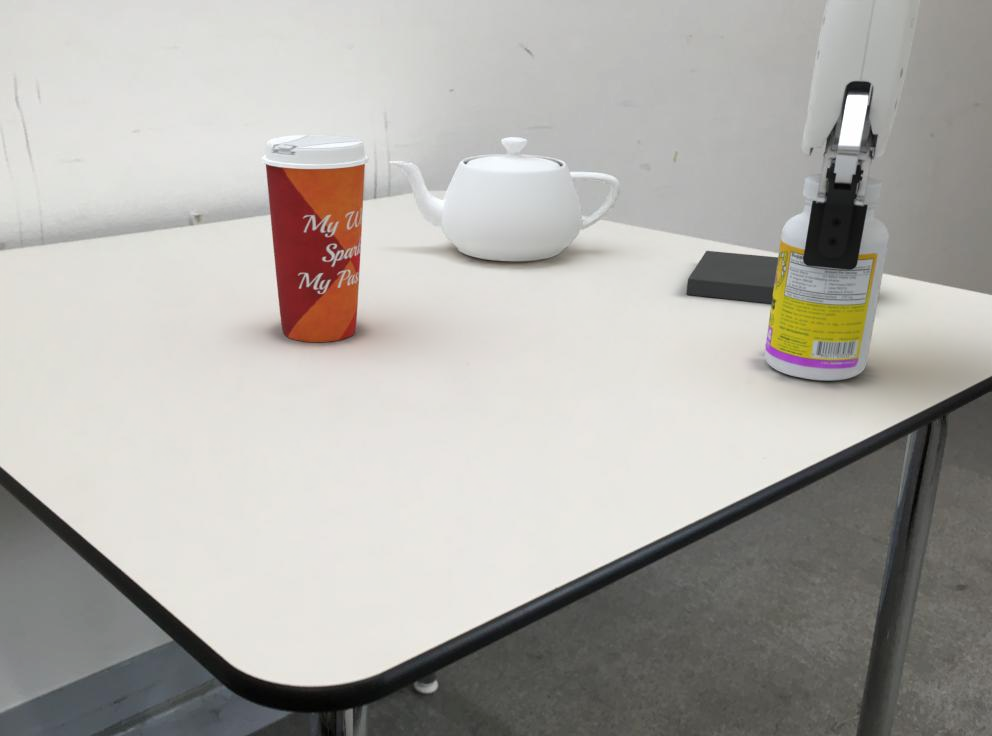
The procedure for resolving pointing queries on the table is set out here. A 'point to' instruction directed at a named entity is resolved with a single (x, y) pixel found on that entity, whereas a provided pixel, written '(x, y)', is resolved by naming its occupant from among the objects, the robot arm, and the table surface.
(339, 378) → the table surface
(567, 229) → the teapot
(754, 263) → the scale
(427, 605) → the table surface
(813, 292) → the supplement bottle
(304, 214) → the paper cup
